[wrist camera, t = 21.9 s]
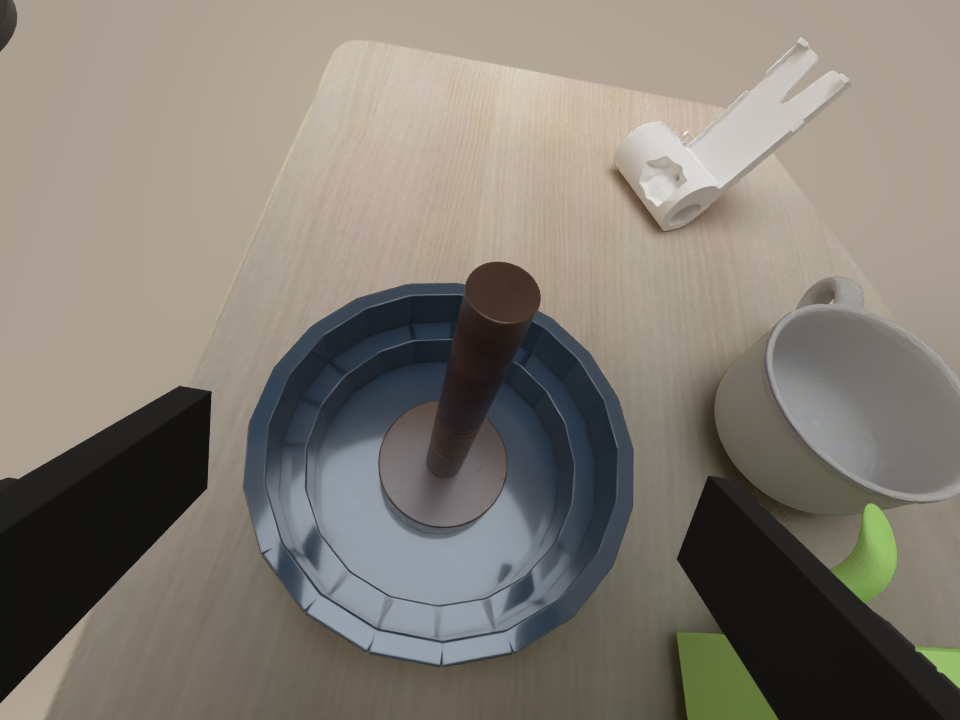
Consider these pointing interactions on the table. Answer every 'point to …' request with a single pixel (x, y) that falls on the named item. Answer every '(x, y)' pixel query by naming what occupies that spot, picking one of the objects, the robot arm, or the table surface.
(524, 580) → the mixing bowl
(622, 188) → the table surface
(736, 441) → the teacup
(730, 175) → the plastic part
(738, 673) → the teapot
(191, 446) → the robot arm
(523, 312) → the wooden stand
